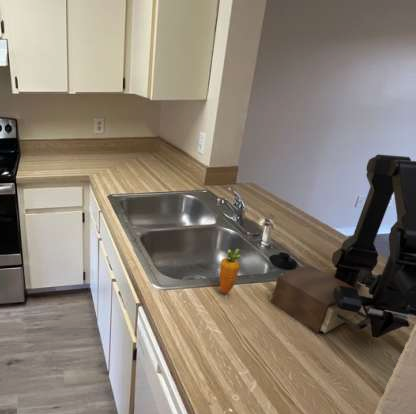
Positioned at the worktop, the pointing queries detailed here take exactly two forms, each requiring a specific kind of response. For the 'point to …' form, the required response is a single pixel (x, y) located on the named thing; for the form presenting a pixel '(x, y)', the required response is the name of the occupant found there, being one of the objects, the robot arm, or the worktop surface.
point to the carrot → (229, 271)
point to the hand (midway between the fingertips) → (373, 336)
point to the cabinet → (306, 295)
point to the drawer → (342, 319)
